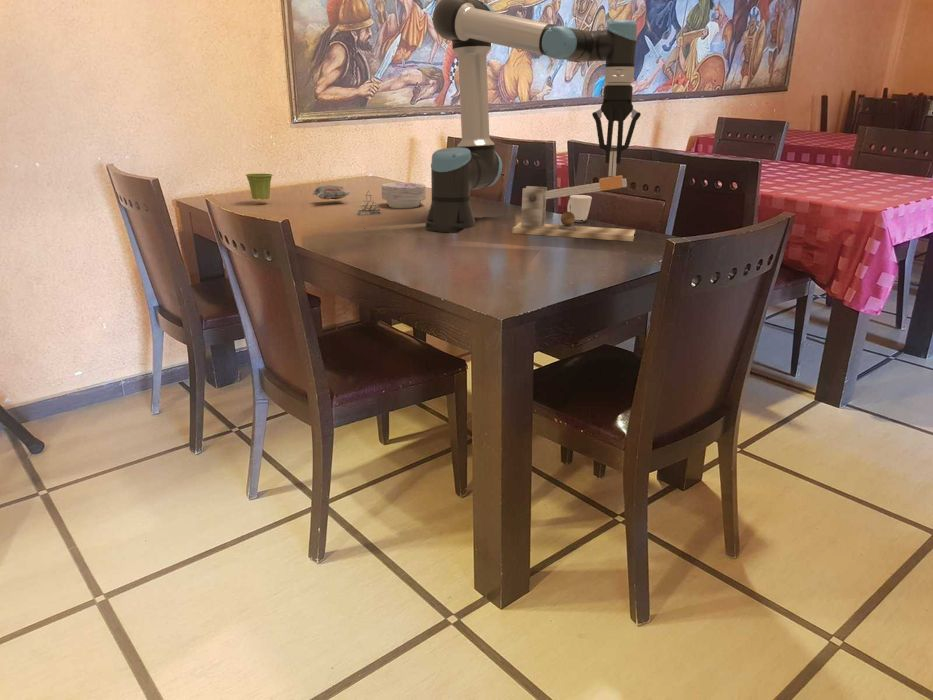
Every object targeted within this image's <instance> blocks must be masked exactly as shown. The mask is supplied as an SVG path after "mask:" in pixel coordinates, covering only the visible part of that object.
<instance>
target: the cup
mask: <svg viewBox="0 0 933 700" xmlns="http://www.w3.org/2000/svg"><path fill="white" fill-rule="evenodd" d="M592 200H593V197H592V196H590V195H584V194H576V195H570V196H569V199H568V202H567V209H566V210H567V212H571V213H573V214H574V217H575V220H583V221H586V220H587V219H588V217H589V212H590V208H591V205H592V204H591V203H592Z"/></svg>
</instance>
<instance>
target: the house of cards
mask: <svg viewBox="0 0 933 700" xmlns="http://www.w3.org/2000/svg"><path fill="white" fill-rule="evenodd" d="M368 193H369V195H368ZM368 197H370V200H372V194H371V193H370V191H369V190H368V191H367V192H366V194H365V198H366V200H363V201H362V202H361V204H360V205H359V207H358V208H357V215H359V216H368V215H369V216H370V215H371V216H372V215H373V216H374V215H381V210H380V208H379V206H378V205H377V204H376V202H375V200H372V203H370V202H371V201H370V200H368ZM365 201H366V202H367V203H365ZM364 203H365V205H363V204H364ZM374 203H375V204H374ZM369 204H370V205H369ZM368 206H369V207H368ZM361 208H362V209H361Z"/></svg>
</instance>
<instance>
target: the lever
mask: <svg viewBox="0 0 933 700" xmlns="http://www.w3.org/2000/svg"><path fill="white" fill-rule="evenodd" d="M598 181H599V182H595V183H594V182H593V183H589V184H588V183H587V184H582V185H576V186H575V185H574V186H568V187H563V188H562V187H561V188H556V189H550V190H548V189H547V191H544V199H546V200H549V199H556V198H561V197H562V198H563V197H568V196H569V197H570V196H572V195H584V194H588V193H594V192H595V193H596V192H600V191H609V190H615V189H616V190H617V189H620V188H626V187H627V186H628V183H627V178H624V177H623V175H616V176H608V177H601V178H600V179H599V180H598Z"/></svg>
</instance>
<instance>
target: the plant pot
mask: <svg viewBox="0 0 933 700" xmlns="http://www.w3.org/2000/svg"><path fill="white" fill-rule="evenodd" d="M245 176H246V178H247V180H248V184H249V189H250V194H251V197H252V199H254V200H268V199H270V196H271V180H272V178H273V174H271V173H248V174H245Z"/></svg>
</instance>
